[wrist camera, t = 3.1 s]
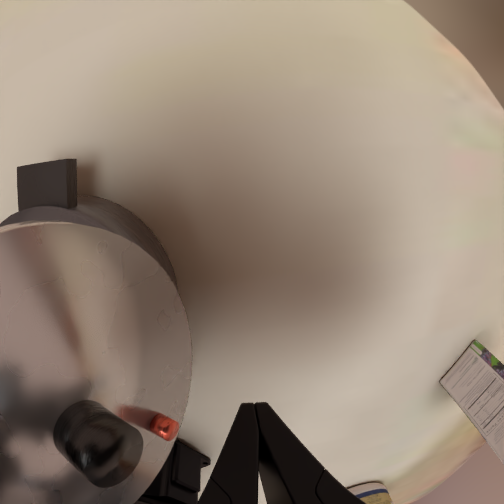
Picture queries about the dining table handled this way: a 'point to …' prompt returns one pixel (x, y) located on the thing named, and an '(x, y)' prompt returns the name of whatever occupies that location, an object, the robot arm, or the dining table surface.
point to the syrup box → (480, 393)
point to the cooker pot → (78, 207)
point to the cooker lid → (86, 365)
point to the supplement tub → (372, 493)
